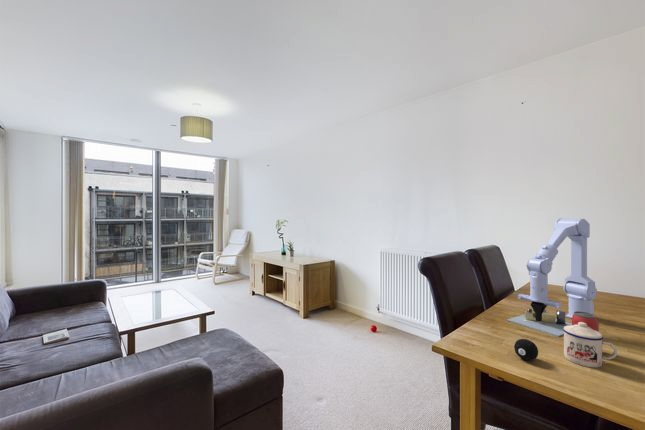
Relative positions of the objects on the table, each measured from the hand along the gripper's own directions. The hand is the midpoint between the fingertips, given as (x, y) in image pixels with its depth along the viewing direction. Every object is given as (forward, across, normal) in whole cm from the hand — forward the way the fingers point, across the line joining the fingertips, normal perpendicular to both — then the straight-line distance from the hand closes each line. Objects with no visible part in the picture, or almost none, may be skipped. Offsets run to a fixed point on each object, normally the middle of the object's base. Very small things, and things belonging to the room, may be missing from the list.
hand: (538, 320), depth 116 cm
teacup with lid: (+2, +23, -21) cm, 31 cm away
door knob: (+1, +5, +7) cm, 9 cm away
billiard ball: (+2, +13, -36) cm, 38 cm away
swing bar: (0, -1, +3) cm, 3 cm away
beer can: (+2, +19, -12) cm, 22 cm away
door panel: (+1, +1, +2) cm, 3 cm away
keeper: (+1, -4, +10) cm, 11 cm away
